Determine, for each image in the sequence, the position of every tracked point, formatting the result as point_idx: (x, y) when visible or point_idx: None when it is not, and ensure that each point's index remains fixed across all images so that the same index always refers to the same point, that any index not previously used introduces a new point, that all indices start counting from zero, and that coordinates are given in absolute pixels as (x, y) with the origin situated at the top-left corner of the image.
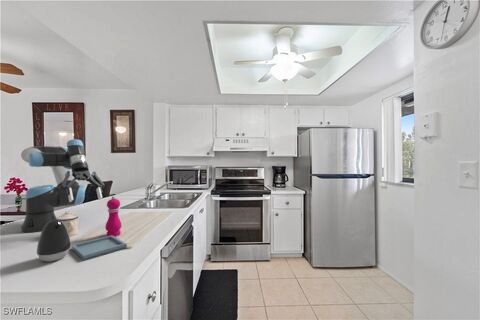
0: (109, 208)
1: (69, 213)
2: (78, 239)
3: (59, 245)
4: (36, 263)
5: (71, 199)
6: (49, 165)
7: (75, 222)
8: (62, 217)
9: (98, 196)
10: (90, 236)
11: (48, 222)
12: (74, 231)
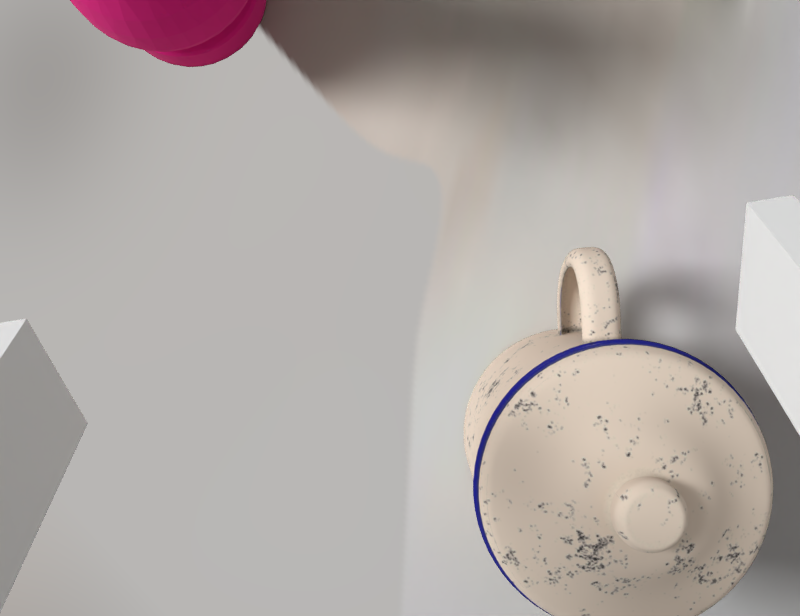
0: None
1: (612, 507)
2: (524, 132)
3: None
4: None
5: (795, 204)
6: None
7: (525, 368)
8: (716, 426)
9: (41, 463)
10: (399, 144)
11: None
12: (521, 344)
